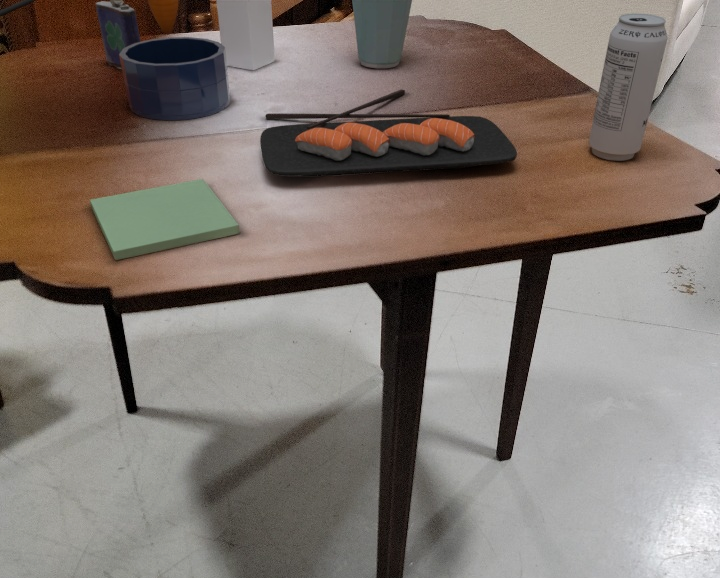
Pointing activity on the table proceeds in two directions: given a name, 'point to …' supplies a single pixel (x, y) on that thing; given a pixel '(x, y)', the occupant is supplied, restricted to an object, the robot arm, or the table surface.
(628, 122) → the energy drink can
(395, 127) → the sushi plate
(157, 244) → the mat
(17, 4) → the robot arm
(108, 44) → the flask
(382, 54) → the disposable coffee cup
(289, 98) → the table surface
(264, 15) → the milk
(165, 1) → the carrot
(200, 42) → the pot
